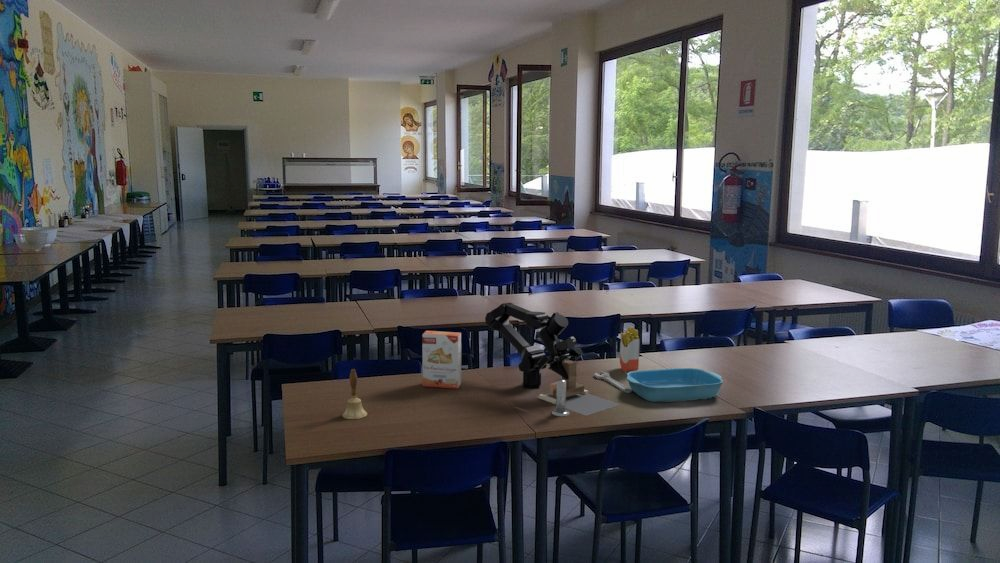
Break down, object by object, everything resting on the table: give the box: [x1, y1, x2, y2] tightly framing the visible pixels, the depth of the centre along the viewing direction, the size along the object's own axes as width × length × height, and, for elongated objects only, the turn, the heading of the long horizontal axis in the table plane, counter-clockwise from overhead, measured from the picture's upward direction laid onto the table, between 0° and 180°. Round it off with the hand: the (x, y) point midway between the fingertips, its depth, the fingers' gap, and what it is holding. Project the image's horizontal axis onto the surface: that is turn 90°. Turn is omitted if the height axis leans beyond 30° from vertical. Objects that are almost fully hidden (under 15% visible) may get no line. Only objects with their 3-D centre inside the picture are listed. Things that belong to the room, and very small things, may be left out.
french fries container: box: [619, 326, 641, 374], centre depth 298 cm, size 5×11×18 cm, turn 10°
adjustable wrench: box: [593, 371, 632, 394], centre depth 282 cm, size 25×6×2 cm, turn 15°
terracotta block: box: [549, 381, 557, 395], centre depth 267 cm, size 5×5×4 cm
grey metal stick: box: [551, 378, 570, 417], centre depth 246 cm, size 6×6×12 cm
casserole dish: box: [626, 367, 724, 403], centre depth 270 cm, size 37×22×7 cm, turn 105°
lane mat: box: [535, 389, 622, 417], centre depth 260 cm, size 25×18×2 cm
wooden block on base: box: [553, 360, 585, 397], centre depth 263 cm, size 4×12×12 cm, turn 130°
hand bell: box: [342, 368, 368, 420], centre depth 244 cm, size 8×8×16 cm
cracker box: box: [421, 330, 462, 390], centre depth 276 cm, size 14×6×21 cm, turn 80°
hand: (571, 378), depth 261 cm, fingers closed on wooden block on base, 4 cm apart
